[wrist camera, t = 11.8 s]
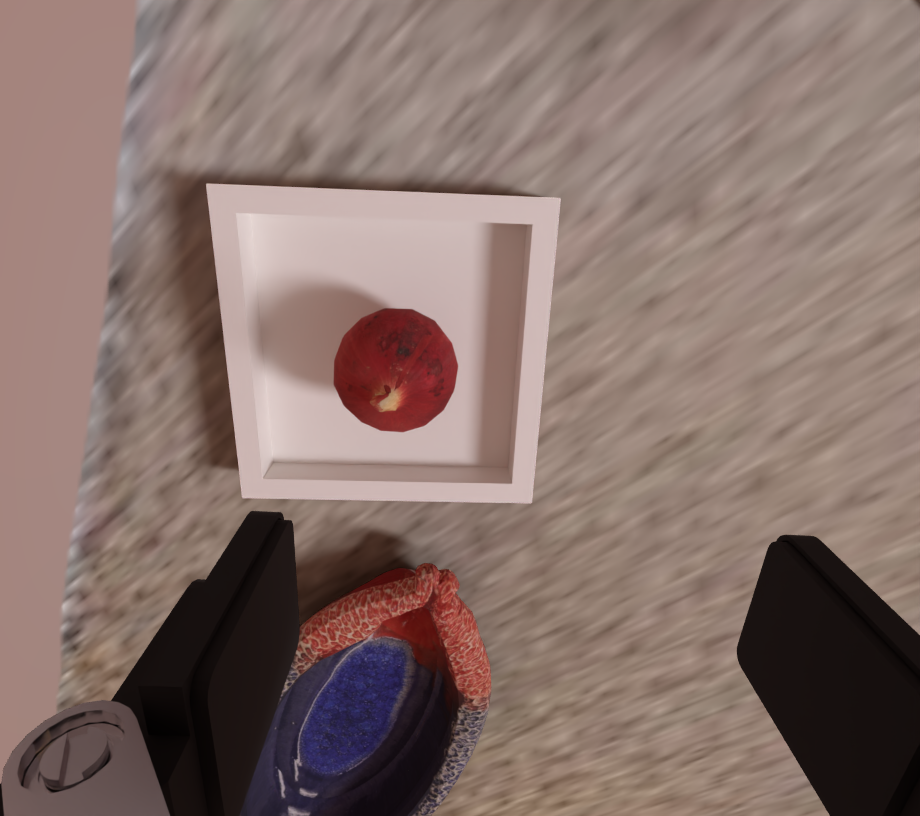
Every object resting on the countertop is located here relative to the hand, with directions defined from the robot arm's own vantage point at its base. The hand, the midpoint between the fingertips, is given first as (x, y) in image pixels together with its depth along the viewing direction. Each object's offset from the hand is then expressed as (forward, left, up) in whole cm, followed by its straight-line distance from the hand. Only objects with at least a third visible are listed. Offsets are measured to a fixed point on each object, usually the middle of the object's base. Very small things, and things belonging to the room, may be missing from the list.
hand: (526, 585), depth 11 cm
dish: (+27, -7, -22) cm, 36 cm away
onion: (+1, -4, -20) cm, 21 cm away
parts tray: (+1, -4, -21) cm, 21 cm away
